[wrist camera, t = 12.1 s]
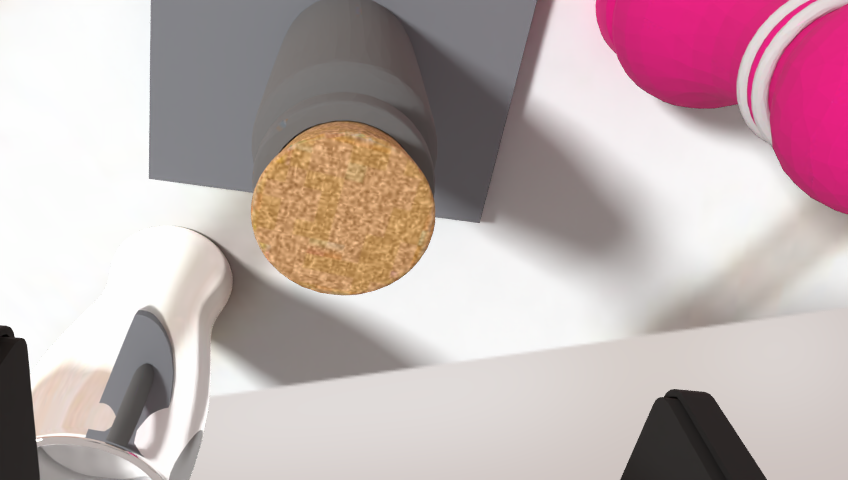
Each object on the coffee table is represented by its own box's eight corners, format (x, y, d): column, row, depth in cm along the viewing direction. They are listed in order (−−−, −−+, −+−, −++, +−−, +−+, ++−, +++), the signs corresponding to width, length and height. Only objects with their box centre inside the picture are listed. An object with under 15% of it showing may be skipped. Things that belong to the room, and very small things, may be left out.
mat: (549, -78, 30) (556, -75, 29) (475, 212, 36) (479, 222, 35) (160, -160, 27) (152, -161, 26) (155, 168, 34) (148, 178, 33)
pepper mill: (715, 78, 34) (1093, 315, 17) (571, 70, 33) (810, 311, 16) (760, -85, 31) (1296, 0, 13) (601, -98, 30) (949, -26, 12)
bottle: (440, 45, 31) (503, 190, 18) (367, 148, 33) (375, 346, 20) (326, -36, 29) (304, 62, 16) (256, 79, 31) (185, 250, 18)
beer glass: (259, 244, 36) (207, 465, 23) (218, 345, 39) (150, 592, 26) (122, 196, 34) (-19, 408, 21) (89, 306, 37) (-53, 552, 24)
